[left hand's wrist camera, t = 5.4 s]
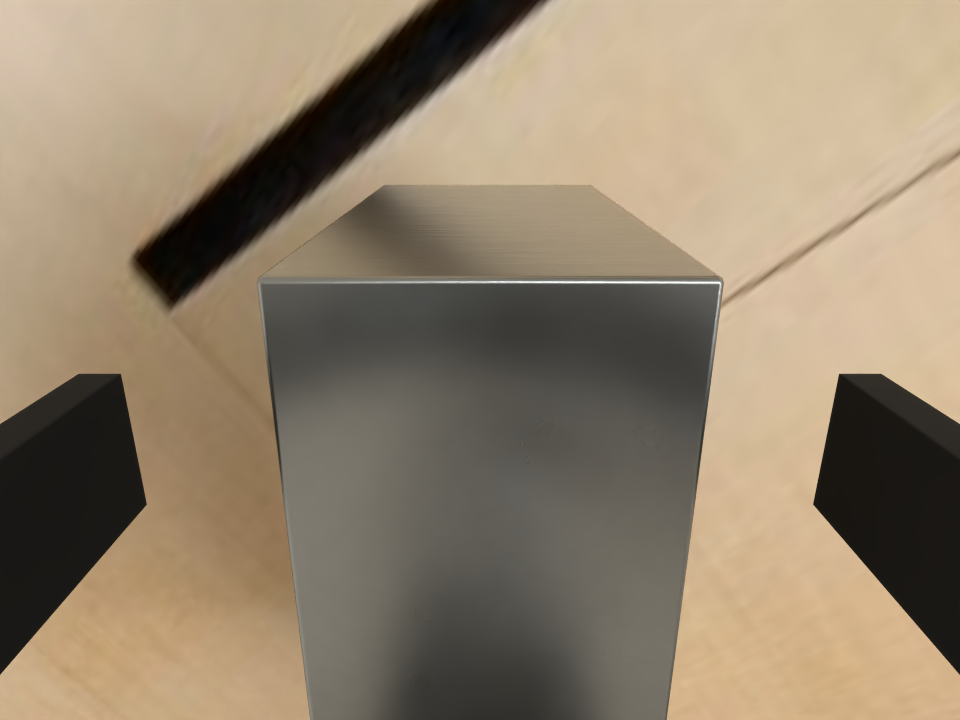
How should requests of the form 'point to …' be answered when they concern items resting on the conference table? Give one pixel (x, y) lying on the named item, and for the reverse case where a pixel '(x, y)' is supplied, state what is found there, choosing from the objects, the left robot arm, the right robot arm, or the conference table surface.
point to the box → (489, 452)
